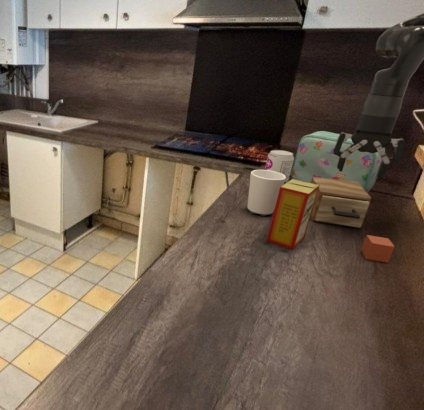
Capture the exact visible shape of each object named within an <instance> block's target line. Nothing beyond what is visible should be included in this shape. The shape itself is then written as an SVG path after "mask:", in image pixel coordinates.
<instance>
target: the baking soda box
mask: <svg viewBox="0 0 424 410" xmlns="http://www.w3.org/2000/svg"><path fill="white" fill-rule="evenodd" d="M319 186H320V185H318V184H313V183H309V182H305V181H300V180H296V179H293V178H292V179H289V180H288V182H287V183H286V184H284V185H282V186H281V187H280V190H279V194H278V198H277V202H276V206H275V209H274V211H273V213H272V218H271V223H270V225H269V226H270V227H269V230H268V235H267V238H266V241H267V242H269V243H273V244H275V245H278V246H280V247H284V248H286V249H290V250H294V249H295V248H296V247H297V246H299V244H300V243H301V242H302V241H303V240H304V239H305V236H306V233H307V230H308V226H309V223H310V219H311V213H312V210H313V206H314V203H315V200H316V196H317V193H318V189H319Z"/></svg>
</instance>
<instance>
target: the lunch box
mask: <svg viewBox="0 0 424 410" xmlns="http://www.w3.org/2000/svg"><path fill="white" fill-rule="evenodd" d="M339 135H340V133H335V132H332V131H331V132H330V131H325V130H320V131H314V132H312V133H310V134H306V135H304V136H302V137H301V139H300V141H299V144H298V146H297V150H296V154H295V157H294V161H293V165H292V169H291V178H292V179H296V180H300V181H305V182H309V183H311V181H312V177H318V178H326V179H335V180H343V181H351V182H358V183H359V184H360V186H361V187H362V188H363V189H364V190H365V191H366V192H367V194H369V192H370V191H371V190H372V189H373V187H374V186H375V183H376V181H377V179H379V177H377V176H376V175H377V172H378V169H379V166H380V163H381V162H382V161H383V160H382V158H381V157H380V155H379V153H378V152H376V153H369V152H359V151H358V150H356V151H355V152H353V153H351V154H350V155H348V156H347V157H346V161H345V164H344V167H343V170H342V172H341V171H339V169H337V164H338V161H339V158H340V157H339V156H337V155H334V153H333V150H334V148H335V145H336V143H337V140H338V137H339ZM352 144H353V142H352V140H351V138H349V139H348V140H347V141H345V142H343V144H342V146H341V149H340V151H342V152H343V151H344V150H346V149H347V148H348V147H349V146H351V145H352ZM383 150H384V151H385V152H386V147H384V148H383Z"/></svg>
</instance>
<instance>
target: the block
mask: <svg viewBox="0 0 424 410" xmlns="http://www.w3.org/2000/svg"><path fill="white" fill-rule="evenodd" d="M395 248H396V247H395V245H394V244H393V242H392V241H391V240H390V238H387V237H382V236H376V235H369V234H366V236H365V239H364V241H363V244H362V246H361V249H360V252H361V253H362V255H363V256H364V258H365V260H368V261H369V260H370V261H375V262H380V261H381V262H380V263H387V264H389V262H390V260H391V257H392V255H393V253H394V250H395Z"/></svg>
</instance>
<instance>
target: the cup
mask: <svg viewBox="0 0 424 410" xmlns="http://www.w3.org/2000/svg"><path fill="white" fill-rule="evenodd" d="M285 179H286V176H285V175H283V174H281V173H279V172H275V171H271V170H265V169H253V170H252V171H250V177H249V186H248V187H249V188H248V197H247V210H248V211H249V212H250V214H252V215H257V214H258V215H260V216H261V217H266V216H270V215H272V216H273V214H274V210H275V206H276V202H277V198H278V194H279V190H280V187H281V186H282V185H284V182H285Z"/></svg>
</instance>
